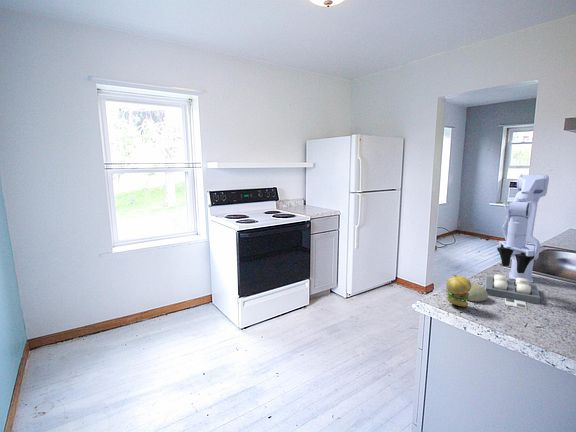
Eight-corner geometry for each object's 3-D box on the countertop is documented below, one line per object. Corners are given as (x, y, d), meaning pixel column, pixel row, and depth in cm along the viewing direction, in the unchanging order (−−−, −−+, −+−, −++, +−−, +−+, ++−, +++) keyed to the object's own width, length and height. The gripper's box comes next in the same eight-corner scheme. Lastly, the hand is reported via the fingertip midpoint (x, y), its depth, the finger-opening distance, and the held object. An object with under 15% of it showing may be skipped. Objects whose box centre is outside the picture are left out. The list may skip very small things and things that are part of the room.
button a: (493, 280, 127) (494, 273, 127) (506, 282, 125) (507, 275, 124) (493, 284, 124) (494, 276, 123) (506, 286, 121) (507, 278, 121)
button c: (514, 284, 123) (515, 276, 123) (528, 286, 121) (529, 278, 121) (515, 287, 120) (516, 280, 119) (529, 289, 118) (530, 282, 117)
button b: (493, 286, 121) (494, 278, 121) (506, 288, 119) (507, 281, 119) (493, 289, 118) (494, 282, 118) (507, 292, 116) (507, 284, 115)
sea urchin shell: (495, 299, 109) (478, 283, 110) (476, 312, 112) (460, 296, 112) (484, 289, 118) (469, 274, 118) (467, 301, 120) (452, 287, 121)
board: (486, 281, 130) (487, 276, 130) (535, 289, 122) (535, 284, 121) (485, 294, 118) (486, 288, 118) (539, 304, 109) (540, 297, 109)
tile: (504, 298, 114) (504, 297, 114) (525, 302, 111) (525, 301, 111) (505, 305, 109) (505, 303, 109) (526, 309, 106) (526, 308, 106)
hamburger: (473, 307, 107) (476, 274, 105) (462, 313, 103) (465, 278, 101) (451, 299, 114) (454, 268, 112) (440, 304, 110) (442, 272, 108)
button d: (515, 290, 118) (516, 282, 117) (529, 292, 115) (530, 284, 115) (516, 293, 114) (517, 286, 114) (530, 296, 112) (531, 288, 111)
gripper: (492, 230, 122) (489, 263, 124) (521, 239, 108) (517, 276, 110) (510, 229, 122) (506, 262, 124) (541, 238, 108) (536, 276, 110)
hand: (512, 269), depth 117 cm, fingers open, 7 cm apart
